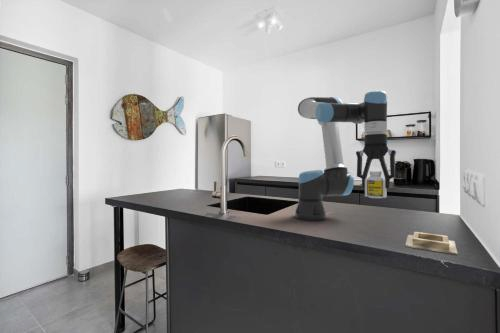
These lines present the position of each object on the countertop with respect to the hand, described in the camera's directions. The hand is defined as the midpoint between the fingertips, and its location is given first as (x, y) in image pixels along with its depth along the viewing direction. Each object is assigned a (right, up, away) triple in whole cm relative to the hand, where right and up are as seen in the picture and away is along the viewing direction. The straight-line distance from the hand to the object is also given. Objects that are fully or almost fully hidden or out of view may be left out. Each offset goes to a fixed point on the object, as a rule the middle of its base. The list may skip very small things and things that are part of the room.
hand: (375, 196), depth 99 cm
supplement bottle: (0, -1, 0) cm, 1 cm away
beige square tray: (+16, -16, -7) cm, 23 cm away
